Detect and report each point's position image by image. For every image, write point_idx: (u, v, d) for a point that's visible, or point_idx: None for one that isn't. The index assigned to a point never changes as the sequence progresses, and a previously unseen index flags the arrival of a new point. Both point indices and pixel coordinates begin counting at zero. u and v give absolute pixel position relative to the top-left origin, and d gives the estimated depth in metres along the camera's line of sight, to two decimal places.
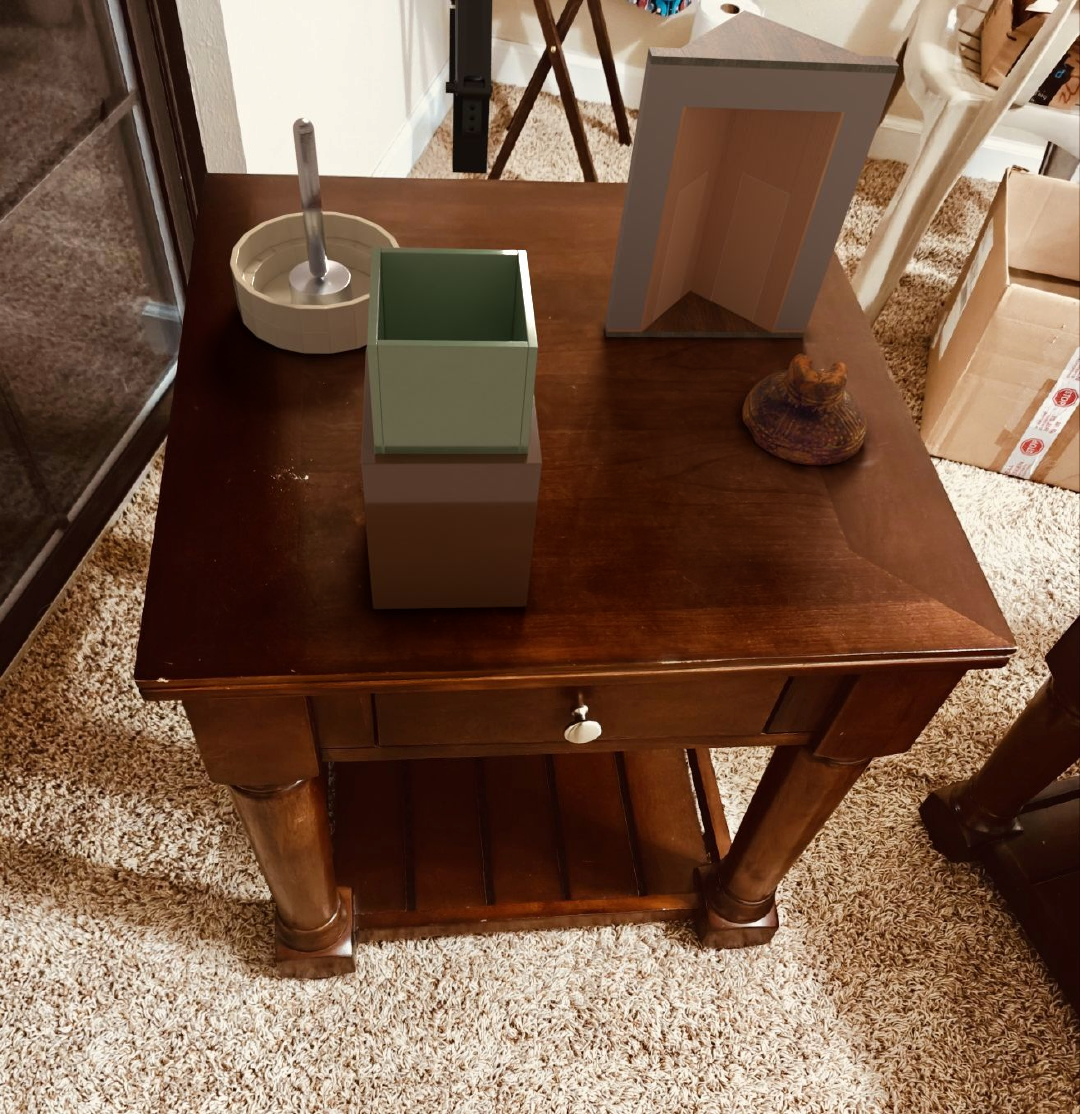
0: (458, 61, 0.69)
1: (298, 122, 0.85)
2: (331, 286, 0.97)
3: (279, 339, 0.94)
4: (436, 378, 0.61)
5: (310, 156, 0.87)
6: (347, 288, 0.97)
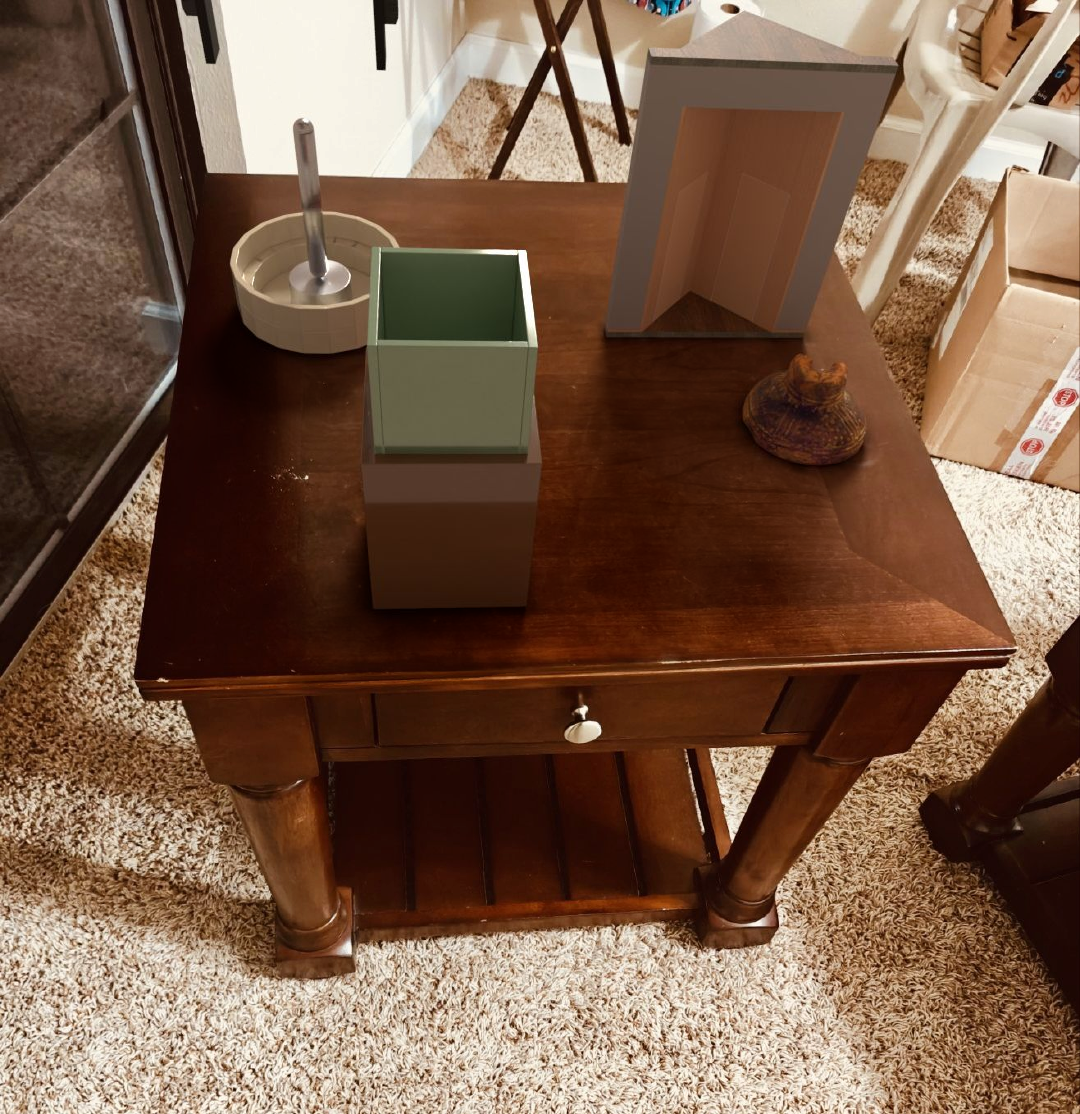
0: None
1: (298, 122, 0.85)
2: (331, 286, 0.97)
3: (279, 339, 0.94)
4: (436, 378, 0.61)
5: (310, 156, 0.87)
6: (347, 288, 0.97)
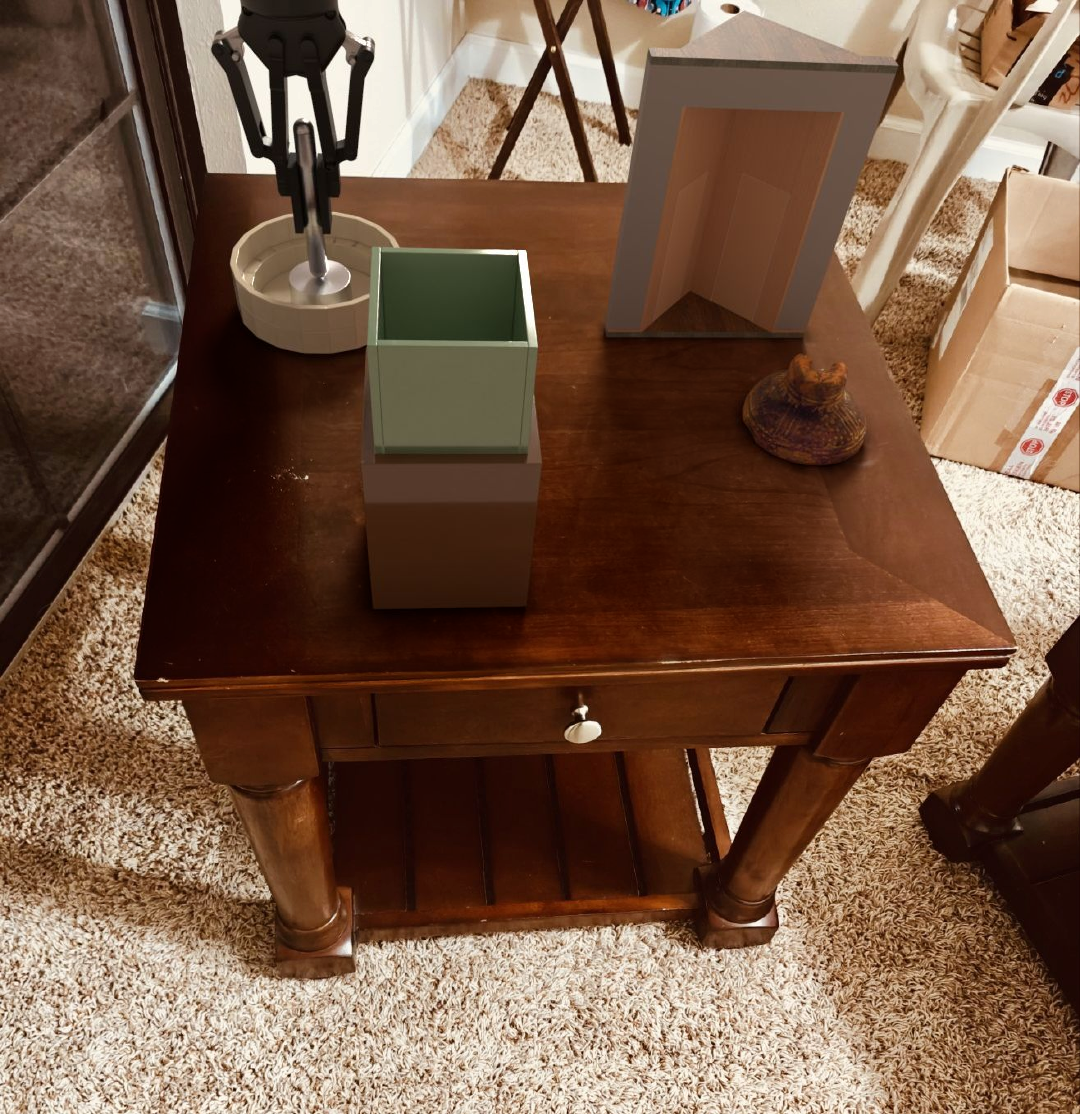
0: None
1: (298, 122, 0.85)
2: (331, 286, 0.97)
3: (279, 339, 0.94)
4: (436, 378, 0.61)
5: (310, 156, 0.87)
6: (347, 288, 0.97)
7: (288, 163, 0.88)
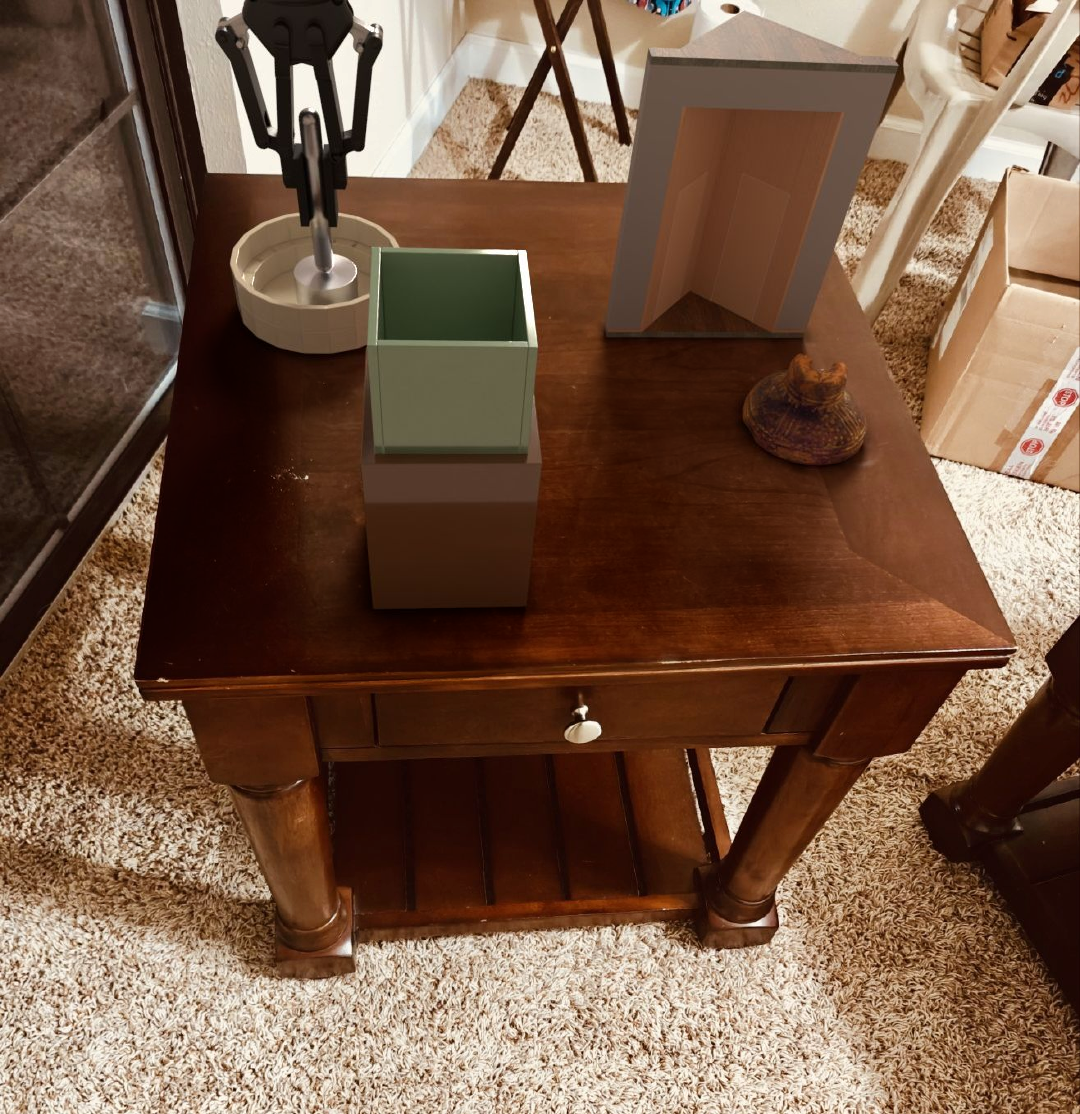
0: (366, 128, 0.84)
1: (303, 112, 0.83)
2: (337, 280, 0.94)
3: (279, 339, 0.94)
4: (436, 378, 0.61)
5: (316, 147, 0.85)
6: (353, 283, 0.95)
7: (294, 154, 0.85)
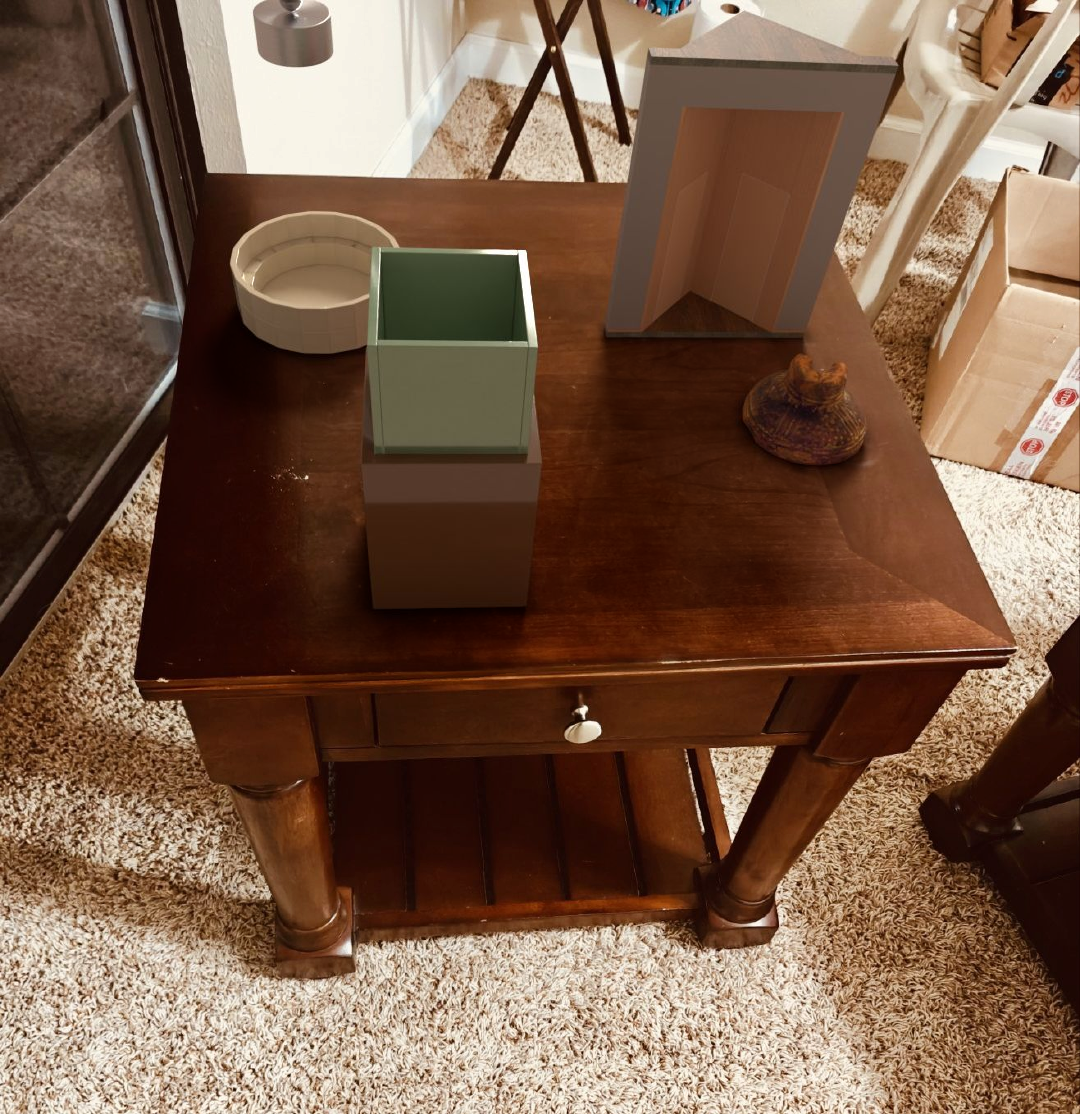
0: None
1: None
2: (306, 20, 0.77)
3: (279, 339, 0.94)
4: (436, 378, 0.61)
5: None
6: (325, 25, 0.78)
7: None
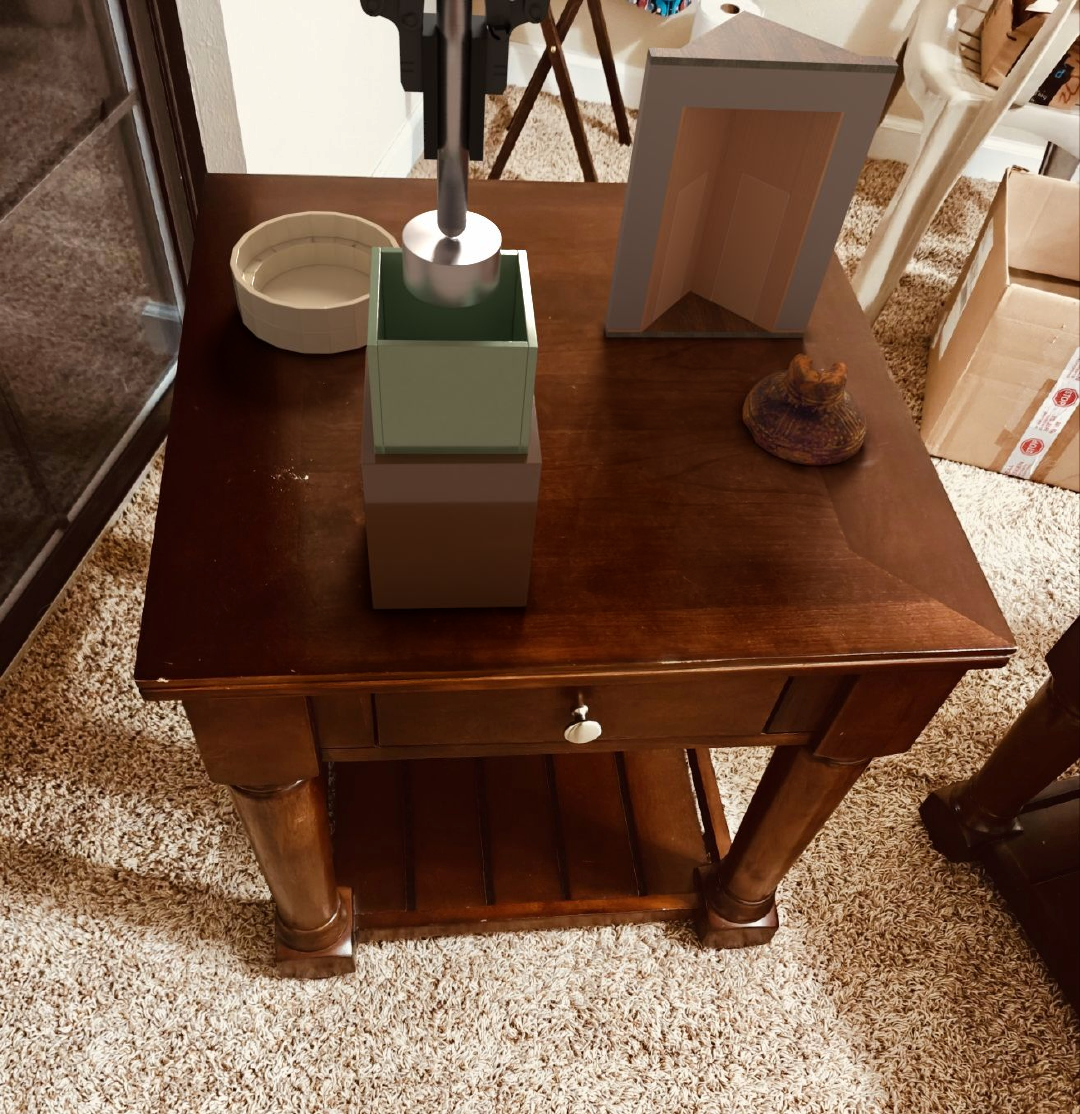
0: None
1: None
2: (473, 251, 0.59)
3: (279, 339, 0.94)
4: (436, 378, 0.61)
5: (463, 14, 0.49)
6: (497, 255, 0.59)
7: (423, 28, 0.50)
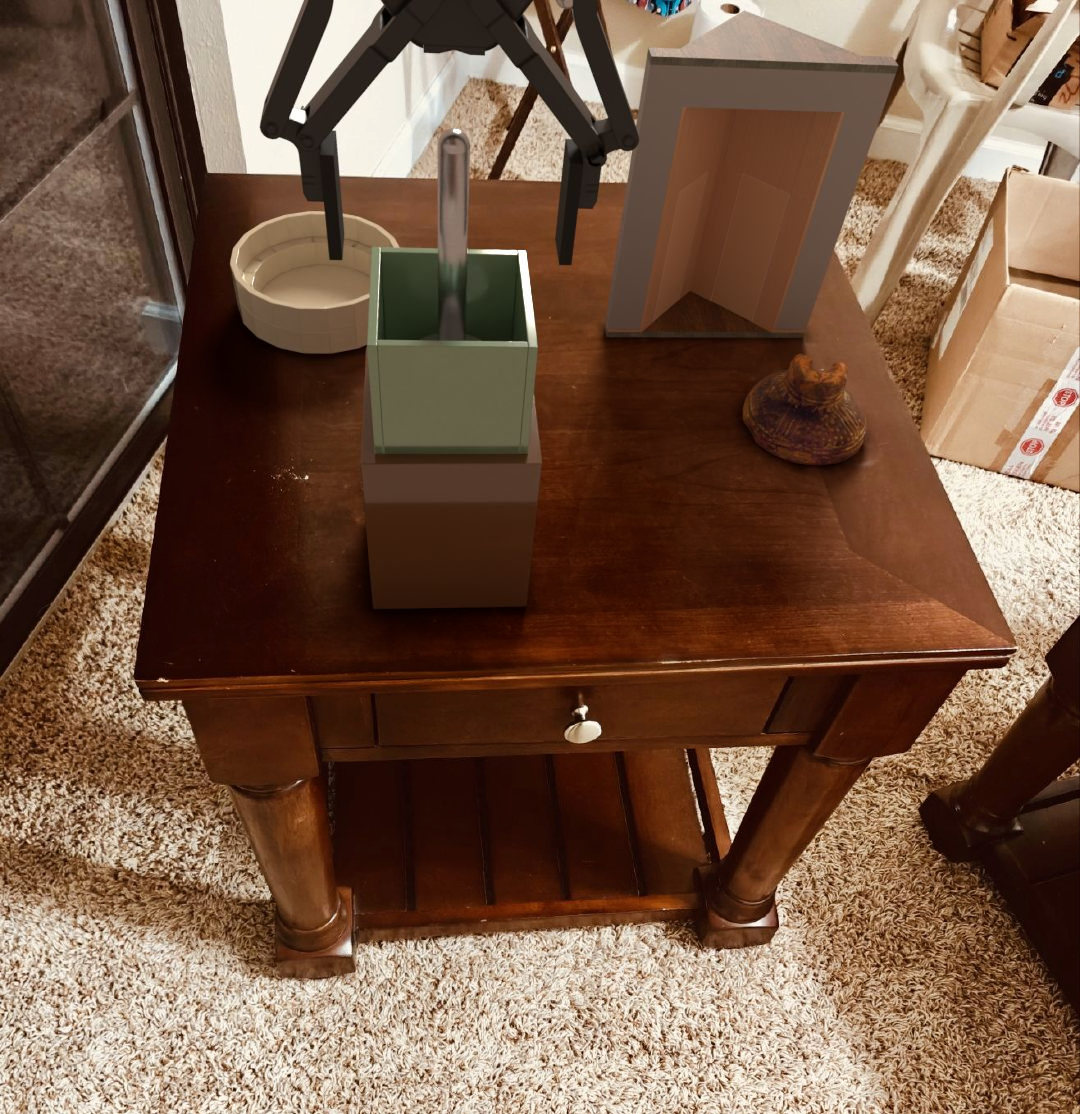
0: (629, 109, 0.53)
1: (447, 135, 0.54)
2: None
3: (279, 339, 0.94)
4: (436, 378, 0.61)
5: (461, 187, 0.56)
6: None
7: (321, 148, 0.54)
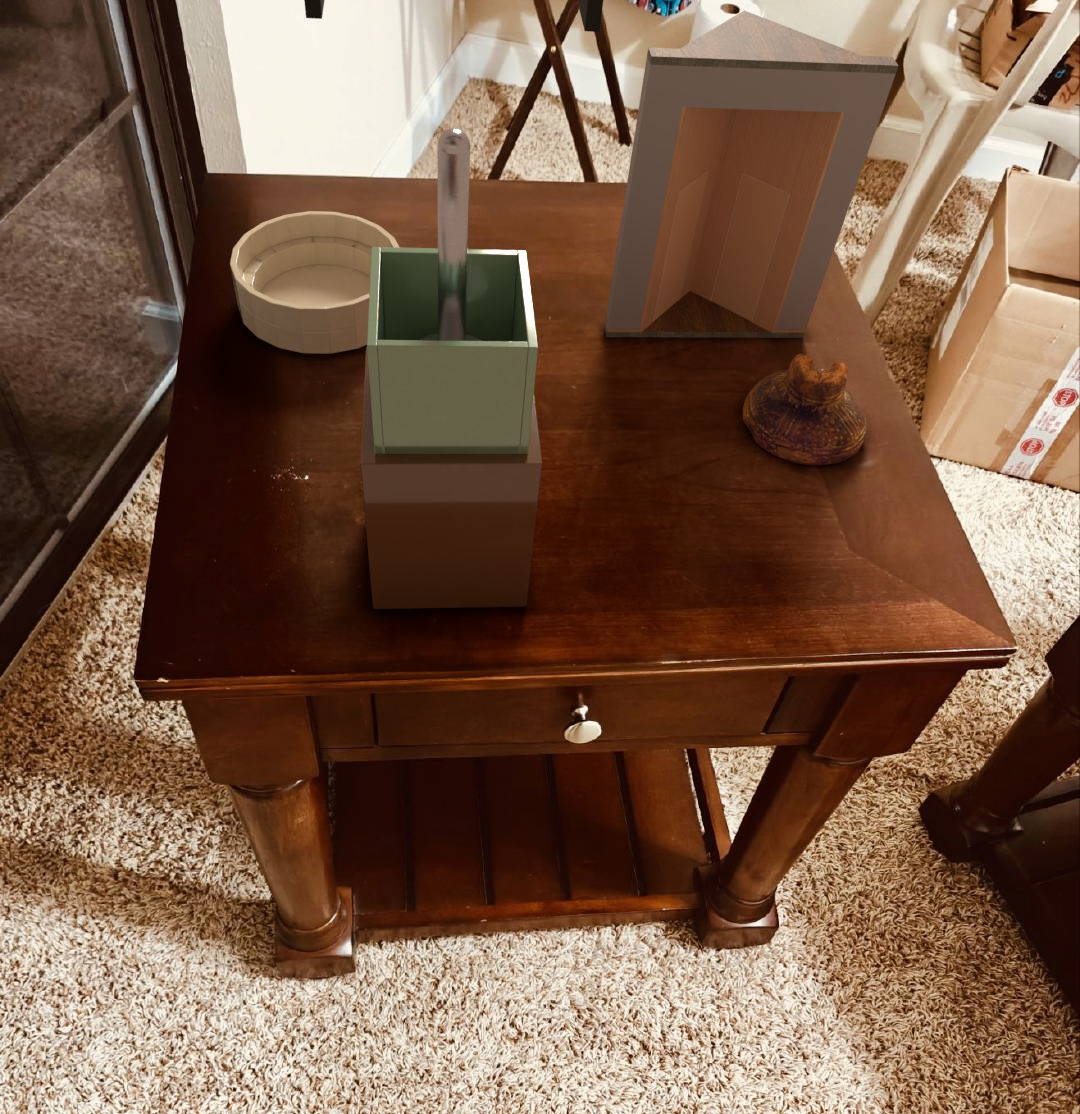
0: None
1: (447, 135, 0.54)
2: None
3: (279, 339, 0.94)
4: (436, 378, 0.61)
5: (461, 187, 0.56)
6: None
7: None
